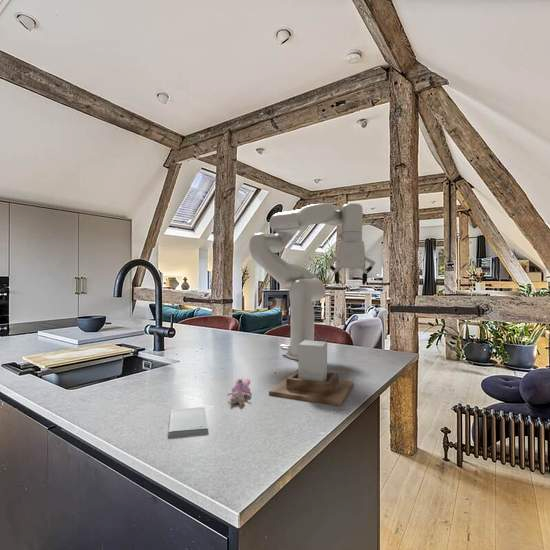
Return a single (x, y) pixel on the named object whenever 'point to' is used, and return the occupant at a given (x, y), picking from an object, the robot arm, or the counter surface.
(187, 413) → the hard drive
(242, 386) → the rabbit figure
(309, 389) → the walnut holder
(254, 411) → the counter surface
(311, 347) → the supplement box
